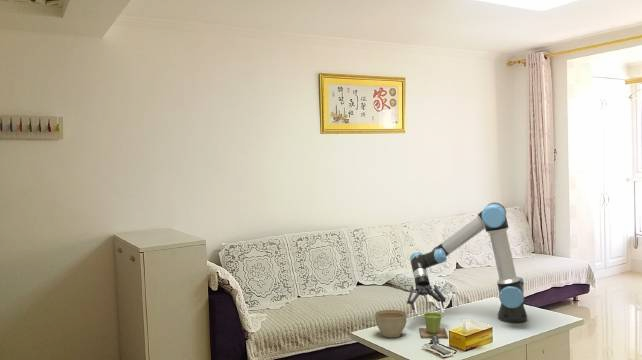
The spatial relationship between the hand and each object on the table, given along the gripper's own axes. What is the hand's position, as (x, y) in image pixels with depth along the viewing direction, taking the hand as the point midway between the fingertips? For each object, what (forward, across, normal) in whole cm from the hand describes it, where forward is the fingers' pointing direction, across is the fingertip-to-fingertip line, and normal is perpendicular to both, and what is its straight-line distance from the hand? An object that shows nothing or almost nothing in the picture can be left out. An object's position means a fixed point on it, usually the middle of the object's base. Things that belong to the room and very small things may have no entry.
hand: (429, 314), depth 276 cm
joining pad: (+10, 0, -2) cm, 10 cm away
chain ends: (+11, 0, -1) cm, 11 cm away
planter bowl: (+9, +21, -3) cm, 23 cm away
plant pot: (+9, 0, -1) cm, 9 cm away
